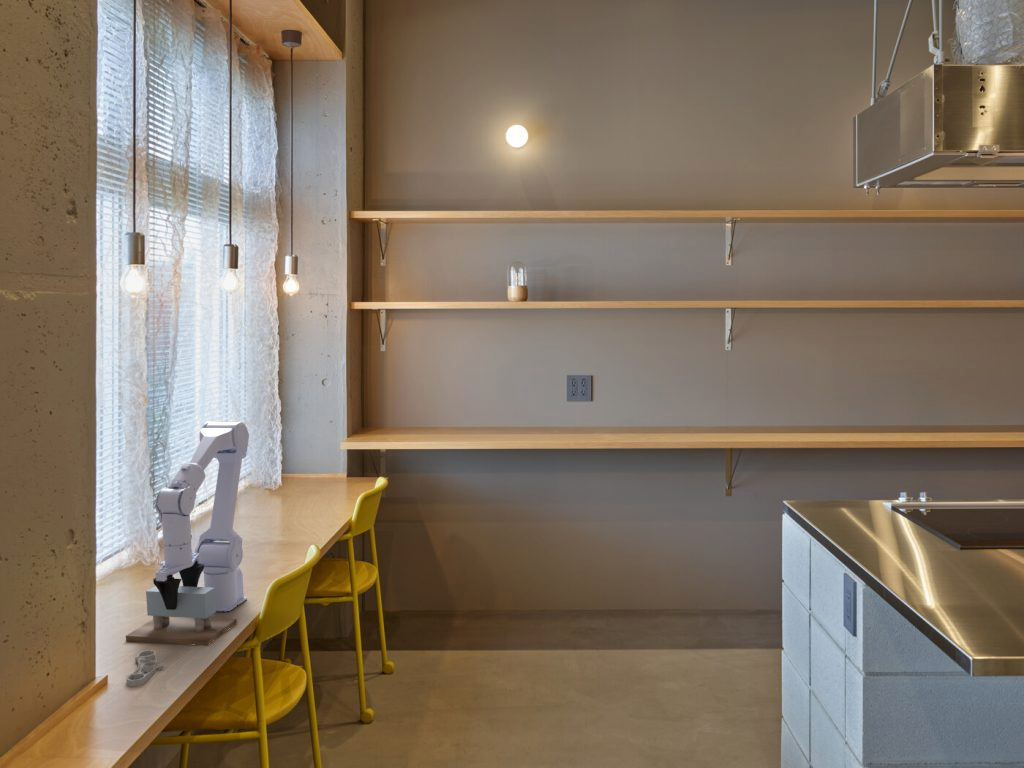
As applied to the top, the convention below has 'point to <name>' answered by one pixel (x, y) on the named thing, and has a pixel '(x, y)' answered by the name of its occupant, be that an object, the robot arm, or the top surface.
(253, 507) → the top surface
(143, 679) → the bracket
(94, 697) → the top surface
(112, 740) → the top surface
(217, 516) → the robot arm
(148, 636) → the peg stand
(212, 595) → the pale blue rectangular block
